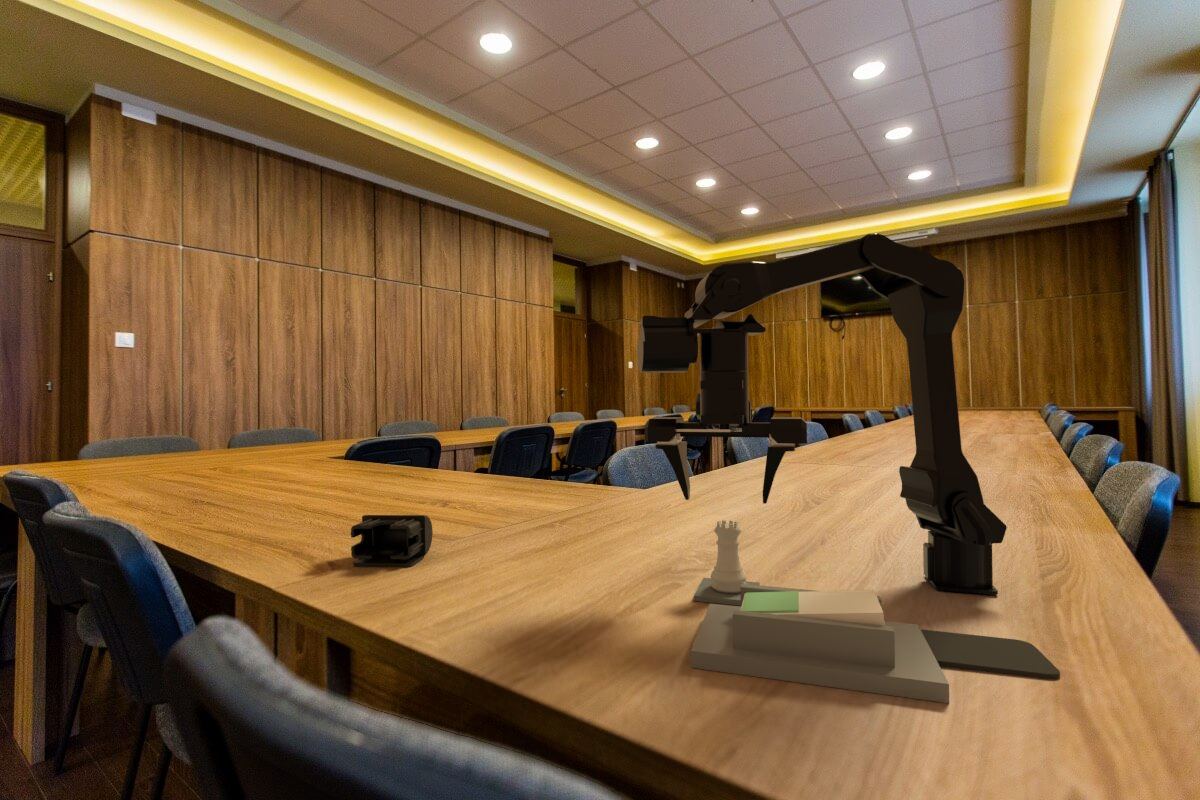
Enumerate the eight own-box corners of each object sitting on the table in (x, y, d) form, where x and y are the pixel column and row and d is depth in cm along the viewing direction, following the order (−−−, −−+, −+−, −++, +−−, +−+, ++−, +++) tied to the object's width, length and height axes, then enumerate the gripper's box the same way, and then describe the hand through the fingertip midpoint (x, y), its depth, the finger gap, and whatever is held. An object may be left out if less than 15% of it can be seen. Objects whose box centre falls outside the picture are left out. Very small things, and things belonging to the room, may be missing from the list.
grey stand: (917, 640, 55) (917, 593, 55) (949, 703, 44) (948, 645, 44) (710, 617, 62) (709, 576, 62) (691, 667, 51) (690, 616, 51)
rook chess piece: (751, 594, 67) (750, 526, 67) (713, 594, 67) (711, 526, 67) (743, 582, 71) (742, 518, 71) (707, 582, 72) (706, 519, 72)
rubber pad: (759, 587, 71) (759, 582, 71) (755, 607, 65) (755, 601, 65) (703, 582, 74) (703, 577, 74) (694, 600, 67) (694, 595, 67)
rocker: (876, 605, 54) (873, 587, 54) (885, 630, 48) (882, 610, 48) (747, 608, 58) (744, 591, 58) (741, 631, 52) (738, 612, 52)
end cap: (433, 554, 89) (432, 511, 89) (414, 568, 82) (413, 521, 82) (372, 553, 90) (372, 511, 90) (348, 567, 83) (347, 521, 83)
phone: (1066, 676, 47) (867, 652, 52) (1066, 686, 47) (867, 661, 52) (1029, 640, 54) (857, 622, 59) (1029, 649, 54) (857, 630, 59)
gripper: (804, 372, 74) (806, 493, 74) (662, 376, 80) (664, 487, 80) (806, 369, 63) (807, 510, 63) (642, 373, 69) (644, 502, 69)
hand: (725, 501), depth 69 cm, fingers open, 9 cm apart
